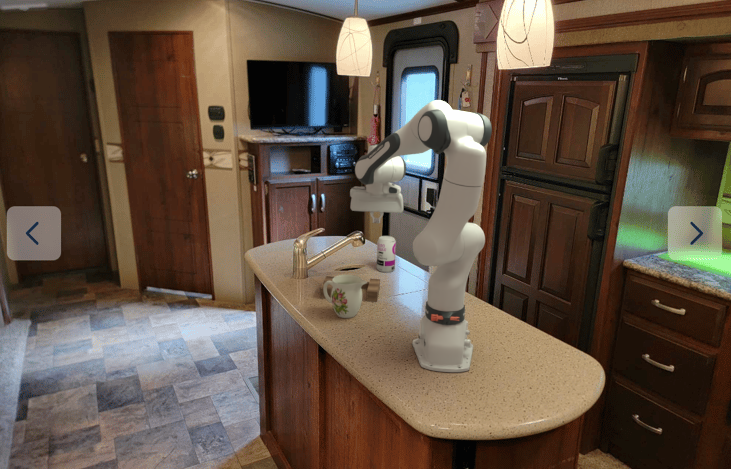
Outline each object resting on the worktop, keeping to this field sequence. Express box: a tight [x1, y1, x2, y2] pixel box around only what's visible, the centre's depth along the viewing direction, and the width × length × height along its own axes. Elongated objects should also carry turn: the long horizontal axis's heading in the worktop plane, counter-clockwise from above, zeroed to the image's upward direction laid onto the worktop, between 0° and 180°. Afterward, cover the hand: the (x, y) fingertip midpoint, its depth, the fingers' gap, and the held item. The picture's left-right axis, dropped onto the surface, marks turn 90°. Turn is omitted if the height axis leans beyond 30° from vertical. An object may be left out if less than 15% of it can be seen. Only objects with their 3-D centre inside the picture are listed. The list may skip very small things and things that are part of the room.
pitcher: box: [323, 274, 368, 319], centre depth 172 cm, size 11×18×14 cm, turn 58°
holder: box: [319, 275, 381, 303], centre depth 191 cm, size 14×22×4 cm, turn 84°
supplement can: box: [376, 235, 397, 273], centre depth 218 cm, size 8×8×15 cm
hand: (376, 222), depth 186 cm, fingers closed
